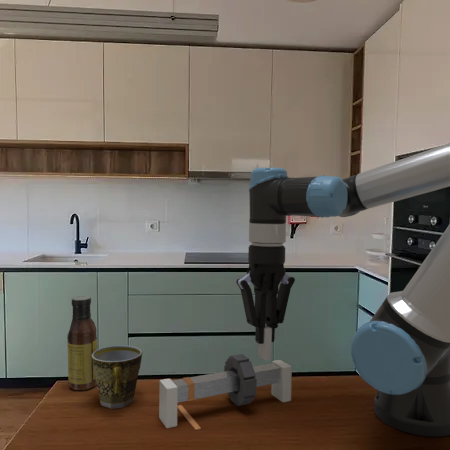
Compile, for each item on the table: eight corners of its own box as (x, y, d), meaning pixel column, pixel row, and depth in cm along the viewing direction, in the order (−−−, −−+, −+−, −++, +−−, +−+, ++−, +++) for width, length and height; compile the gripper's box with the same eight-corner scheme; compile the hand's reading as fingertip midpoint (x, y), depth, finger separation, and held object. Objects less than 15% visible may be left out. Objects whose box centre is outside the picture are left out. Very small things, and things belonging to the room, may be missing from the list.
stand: (272, 387, 95) (272, 355, 95) (299, 406, 86) (299, 371, 86) (154, 411, 83) (155, 374, 83) (171, 435, 74) (172, 395, 74)
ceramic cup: (92, 393, 91) (93, 346, 91) (140, 388, 94) (140, 343, 93) (89, 422, 78) (89, 369, 78) (144, 417, 81) (144, 365, 81)
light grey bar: (277, 376, 92) (277, 361, 91) (285, 382, 89) (285, 366, 89) (165, 397, 80) (165, 380, 80) (171, 404, 78) (171, 387, 78)
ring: (234, 391, 90) (235, 349, 90) (256, 409, 82) (256, 363, 82) (223, 393, 89) (224, 351, 89) (244, 412, 81) (245, 365, 81)
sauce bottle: (86, 378, 99) (86, 293, 98) (104, 384, 95) (104, 296, 95) (61, 387, 94) (61, 297, 93) (78, 394, 90) (79, 301, 89)
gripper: (283, 242, 94) (281, 348, 94) (230, 243, 88) (228, 356, 89) (304, 245, 87) (301, 359, 88) (247, 246, 81) (245, 369, 82)
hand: (264, 358), depth 88 cm, fingers closed
